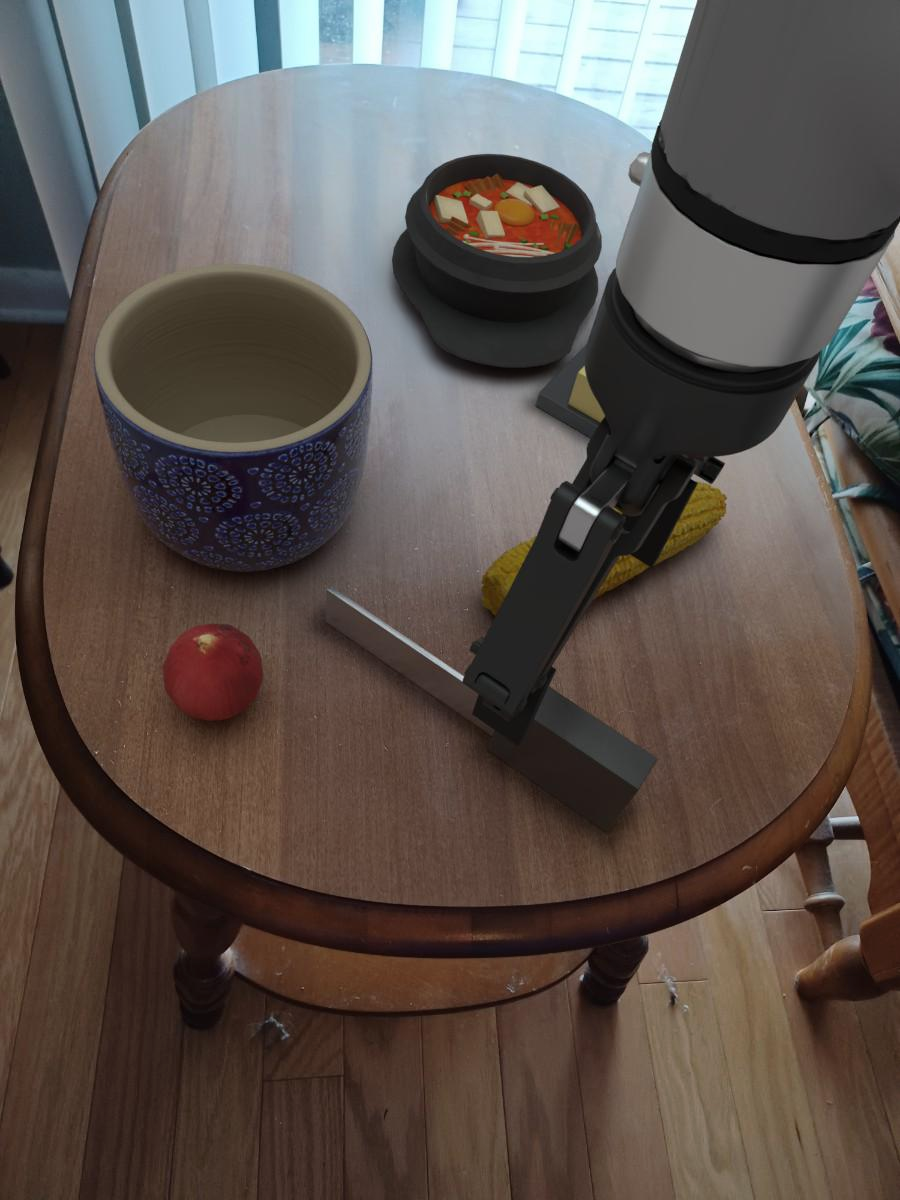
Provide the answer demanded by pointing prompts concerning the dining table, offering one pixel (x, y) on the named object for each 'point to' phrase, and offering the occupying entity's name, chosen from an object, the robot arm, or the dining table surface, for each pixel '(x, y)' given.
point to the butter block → (585, 398)
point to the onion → (213, 672)
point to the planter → (237, 412)
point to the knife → (554, 741)
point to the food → (689, 529)
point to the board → (566, 398)
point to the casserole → (500, 259)
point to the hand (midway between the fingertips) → (570, 632)
